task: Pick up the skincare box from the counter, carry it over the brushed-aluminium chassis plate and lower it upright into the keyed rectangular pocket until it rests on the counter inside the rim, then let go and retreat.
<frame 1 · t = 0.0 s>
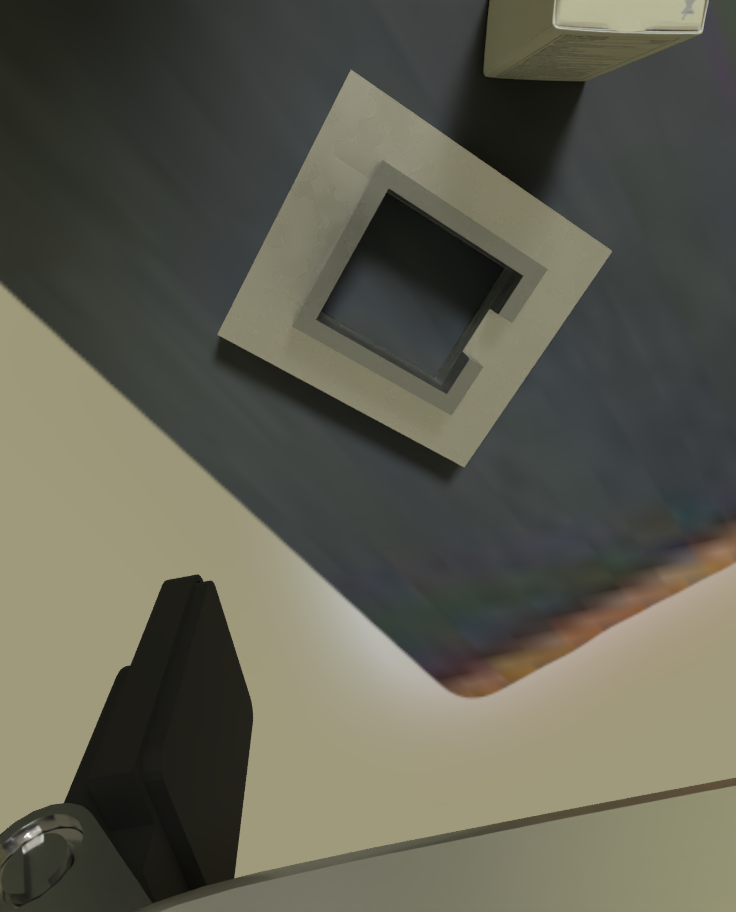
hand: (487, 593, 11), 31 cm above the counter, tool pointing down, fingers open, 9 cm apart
skincare box: (536, 39, 35), on the counter
chassis: (409, 288, 39), on the counter
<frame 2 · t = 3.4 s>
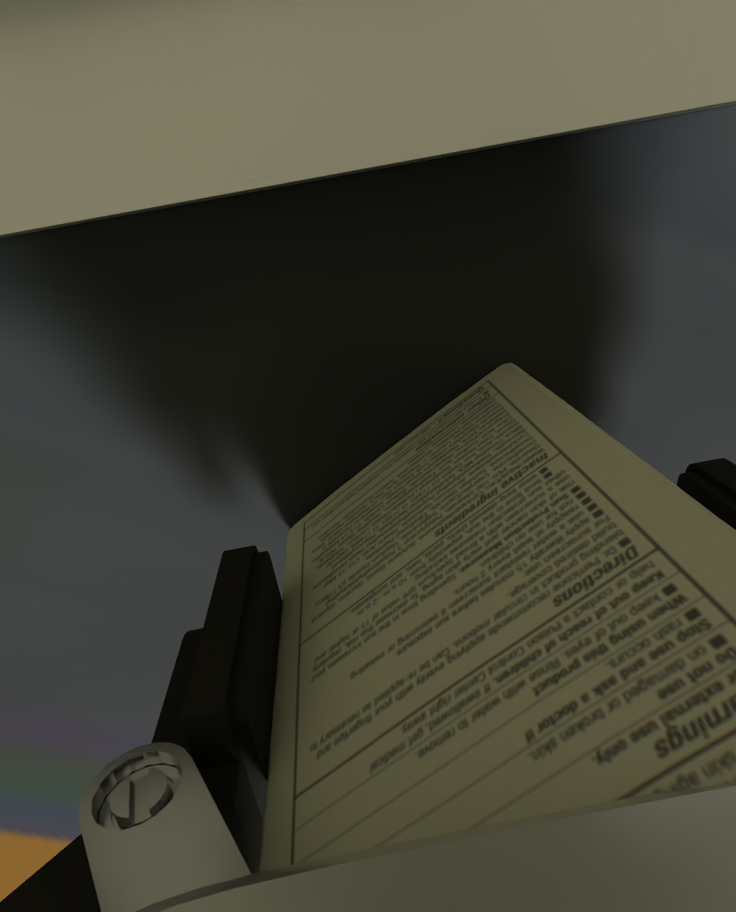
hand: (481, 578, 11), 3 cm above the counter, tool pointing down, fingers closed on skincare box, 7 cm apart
skincare box: (449, 501, 14), on the counter, touching gripper
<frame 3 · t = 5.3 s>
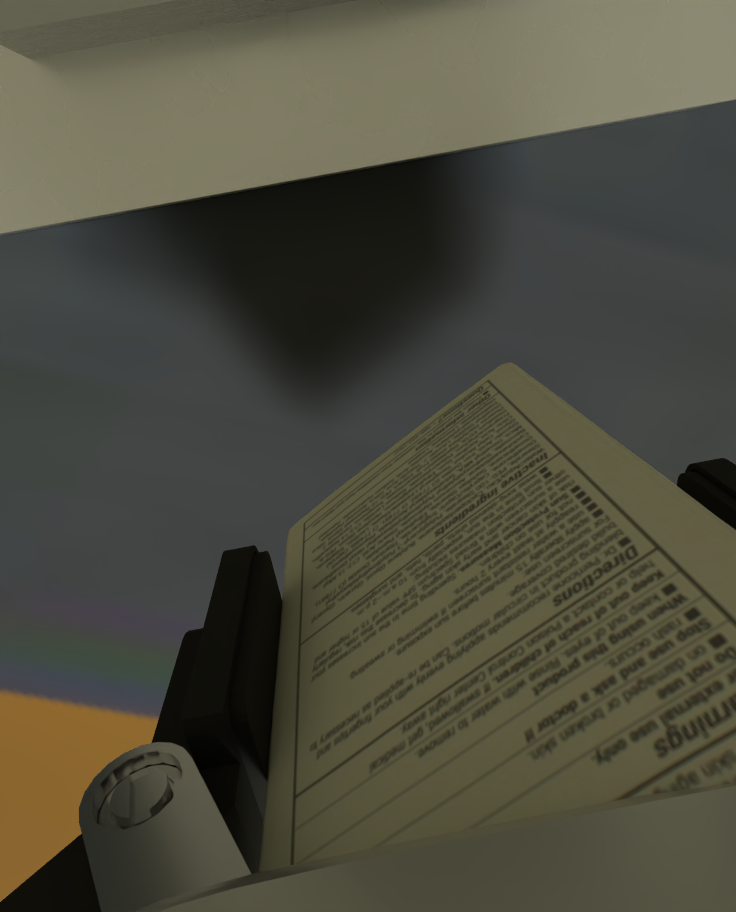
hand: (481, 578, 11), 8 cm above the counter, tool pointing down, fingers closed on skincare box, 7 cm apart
skincare box: (449, 501, 14), point 4 cm above the counter, touching gripper
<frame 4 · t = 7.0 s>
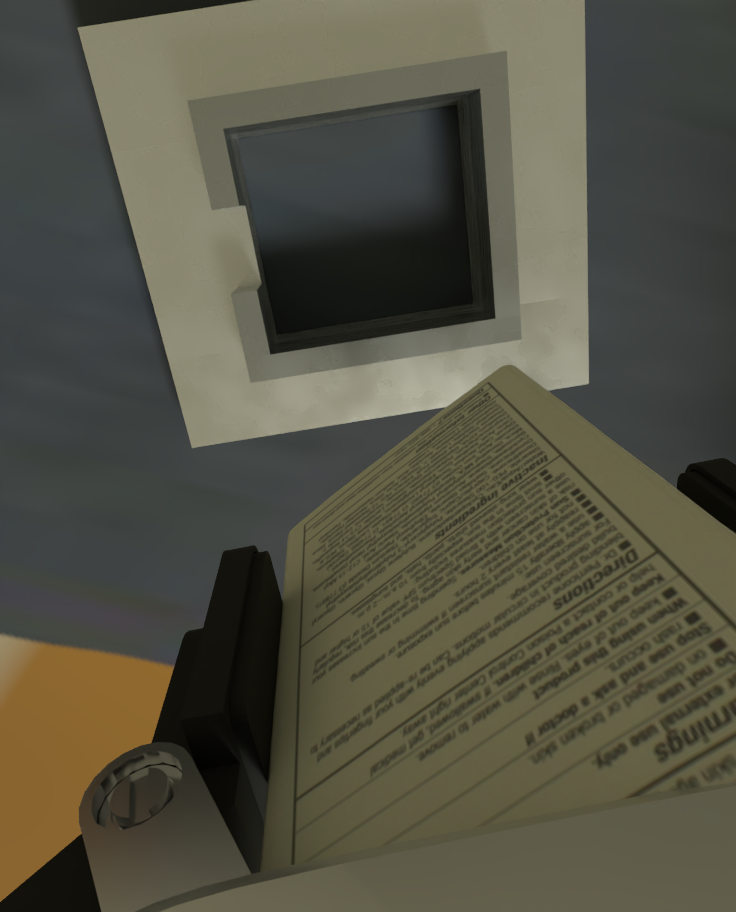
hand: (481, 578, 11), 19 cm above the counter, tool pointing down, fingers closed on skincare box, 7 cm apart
skincare box: (449, 503, 14), point 16 cm above the counter, touching gripper
chassis: (361, 225, 27), on the counter
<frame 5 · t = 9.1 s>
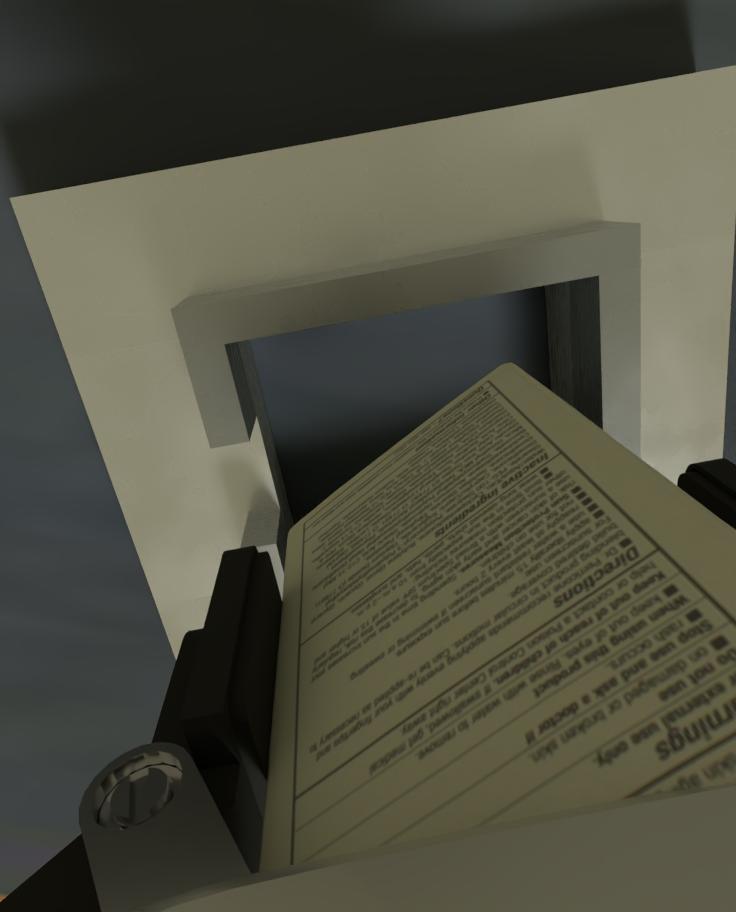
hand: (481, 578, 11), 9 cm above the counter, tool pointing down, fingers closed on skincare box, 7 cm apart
skincare box: (449, 501, 14), point 6 cm above the counter, touching gripper
chassis: (412, 414, 20), on the counter
when the fingers open (5 cm above the counter, at t = 10.9 s): skincare box drops 2 cm, resting in chassis.
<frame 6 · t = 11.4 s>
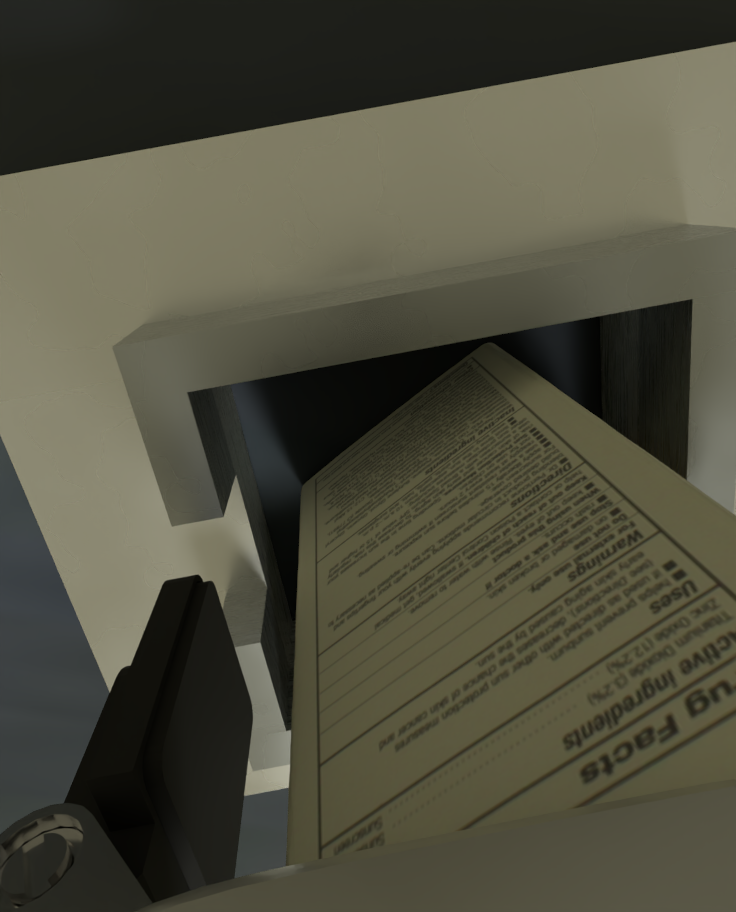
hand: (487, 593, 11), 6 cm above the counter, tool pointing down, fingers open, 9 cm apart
skincare box: (439, 463, 17), resting in chassis
chassis: (431, 463, 16), on the counter
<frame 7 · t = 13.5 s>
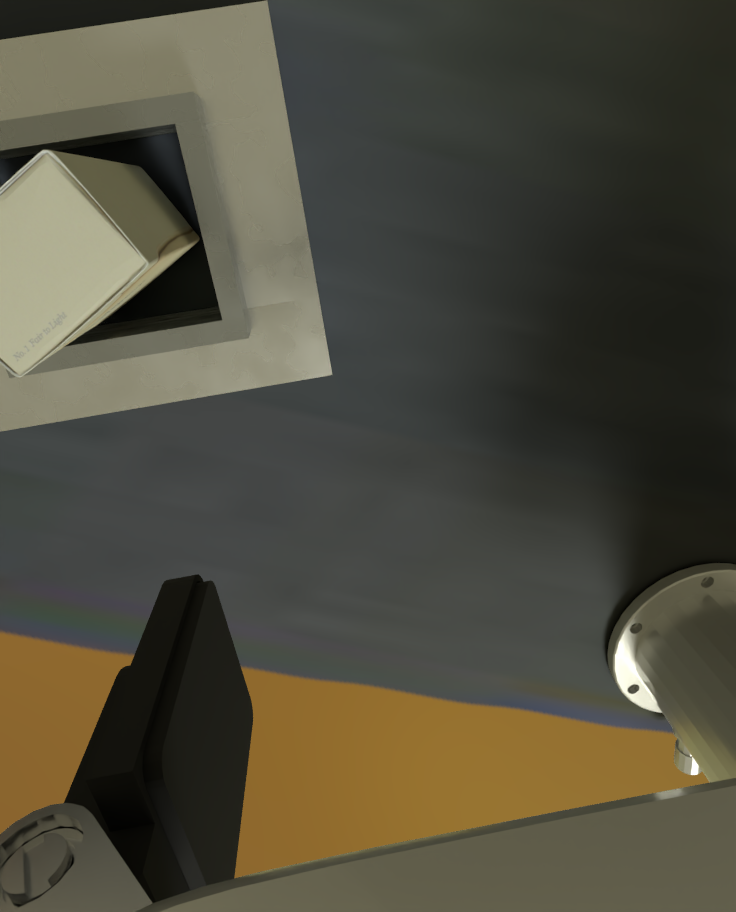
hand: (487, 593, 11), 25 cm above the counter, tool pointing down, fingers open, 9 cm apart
skincare box: (126, 238, 31), resting in chassis
chassis: (118, 236, 30), on the counter
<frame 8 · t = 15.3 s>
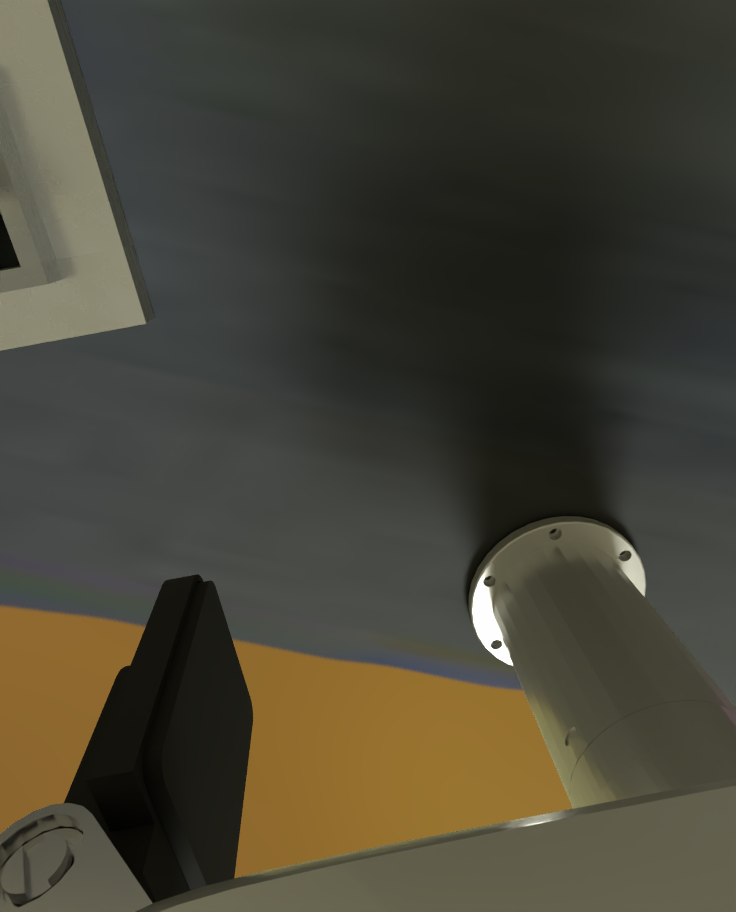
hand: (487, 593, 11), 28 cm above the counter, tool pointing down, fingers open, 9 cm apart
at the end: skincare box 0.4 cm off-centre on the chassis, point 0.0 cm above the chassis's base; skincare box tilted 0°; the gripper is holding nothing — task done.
